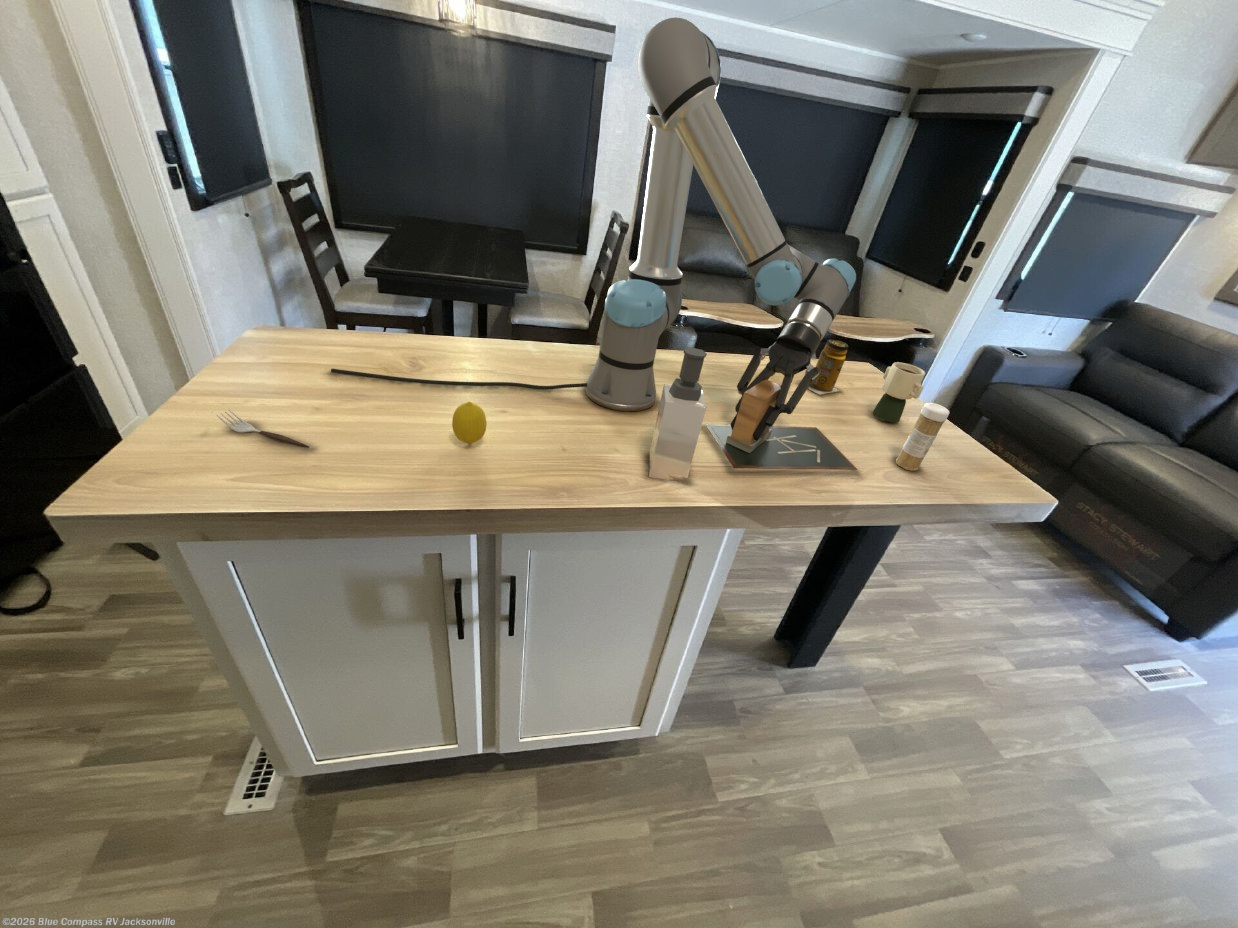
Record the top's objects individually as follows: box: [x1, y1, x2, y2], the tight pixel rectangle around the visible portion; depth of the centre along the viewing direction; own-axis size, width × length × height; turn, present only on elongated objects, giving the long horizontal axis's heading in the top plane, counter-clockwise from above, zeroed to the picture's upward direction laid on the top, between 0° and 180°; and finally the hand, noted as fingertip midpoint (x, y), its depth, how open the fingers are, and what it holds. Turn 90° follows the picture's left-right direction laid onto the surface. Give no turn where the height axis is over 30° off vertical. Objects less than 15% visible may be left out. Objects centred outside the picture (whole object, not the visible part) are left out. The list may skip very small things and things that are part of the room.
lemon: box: [451, 401, 488, 445], centre depth 89 cm, size 6×6×8 cm
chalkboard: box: [704, 423, 858, 471], centre depth 105 cm, size 26×16×1 cm, turn 101°
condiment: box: [797, 339, 850, 396], centre depth 134 cm, size 7×8×12 cm
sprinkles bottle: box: [895, 402, 950, 472], centre depth 104 cm, size 5×5×13 cm
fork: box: [216, 409, 310, 449], centre depth 84 cm, size 3×16×2 cm, turn 73°
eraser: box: [726, 379, 782, 453], centre depth 102 cm, size 10×5×11 cm, turn 143°
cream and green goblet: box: [872, 361, 926, 423], centre depth 123 cm, size 11×7×13 cm, turn 18°
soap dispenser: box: [648, 346, 708, 482], centre depth 89 cm, size 6×9×22 cm
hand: (744, 432), depth 101 cm, fingers closed on eraser, 4 cm apart
